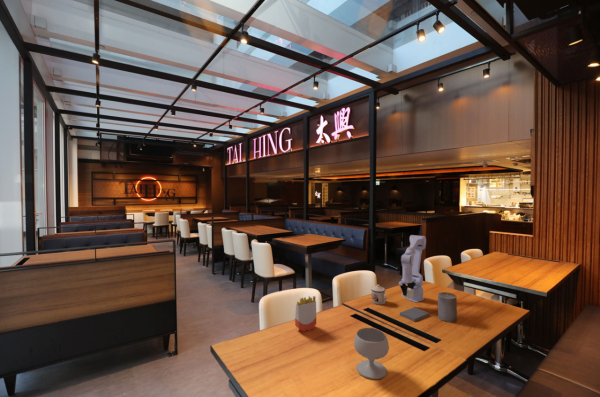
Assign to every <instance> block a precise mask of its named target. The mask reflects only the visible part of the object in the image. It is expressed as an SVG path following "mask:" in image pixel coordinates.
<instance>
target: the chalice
mask: <svg viewBox="0 0 600 397" xmlns="http://www.w3.org/2000/svg"><path fill="white" fill-rule="evenodd" d="M353 340H354V341H353V346H354V348H355V351H356V352H357V353H358V354H359V356H361V357H363V358H365V360H361V361H360V362H358V363H357V364H356V371H357V372H358V374H359V375H361V376H362V377H364V378H367V379H369V380H379V379H383V378H385V377H386V376H387V374H388V371H387V367H385V365H384V364H382V363H380V362H378V361H376V360H381V359H383V358H384V357H386V356H387V354H388V353H389V350H390V345H389V339H388V338H387V335H386V333H384V332H383V331H382V330H380V329H378V328H373V327H363V328H361V329H358V330H357V331H356V334H355V336H354V339H353Z"/></svg>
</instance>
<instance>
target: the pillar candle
mask: <svg viewBox="0 0 600 397" xmlns="http://www.w3.org/2000/svg"><path fill="white" fill-rule="evenodd" d="M457 297H458V296H457V295H455V294H454V293H451V292H448V291H447V292H446V291H445V292H443V291H442V292H438V293H437V310H438V311H437V316H438V317H437V318H438V319H439V320H441V321H444V322H447V323H456V322H457V321H458V305H457V304H458V302H457V300H458V299H457Z"/></svg>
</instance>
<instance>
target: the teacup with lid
mask: <svg viewBox="0 0 600 397" xmlns="http://www.w3.org/2000/svg"><path fill="white" fill-rule="evenodd" d="M370 290H371V303H372V304H373V305H378V306H379V305H381V306H382V305H384V304H385V303H386V301H387V300H388V299H387V298H388V297H387V295H386V289H385V288H384V287H383V286H381V285H380V284H376V285H375V286H372V287H371V289H370Z"/></svg>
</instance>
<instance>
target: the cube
mask: <svg viewBox="0 0 600 397" xmlns="http://www.w3.org/2000/svg"><path fill="white" fill-rule="evenodd" d="M401 297H402V298H405V299H406V298H407V299H406V300H408V299H410V298H413V289H411V288H408V289H407V295H406V296H404V295H403V293H402V292H401Z"/></svg>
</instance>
